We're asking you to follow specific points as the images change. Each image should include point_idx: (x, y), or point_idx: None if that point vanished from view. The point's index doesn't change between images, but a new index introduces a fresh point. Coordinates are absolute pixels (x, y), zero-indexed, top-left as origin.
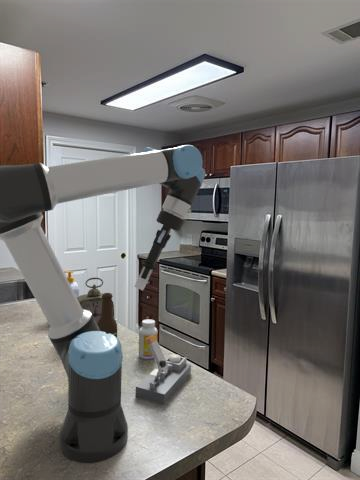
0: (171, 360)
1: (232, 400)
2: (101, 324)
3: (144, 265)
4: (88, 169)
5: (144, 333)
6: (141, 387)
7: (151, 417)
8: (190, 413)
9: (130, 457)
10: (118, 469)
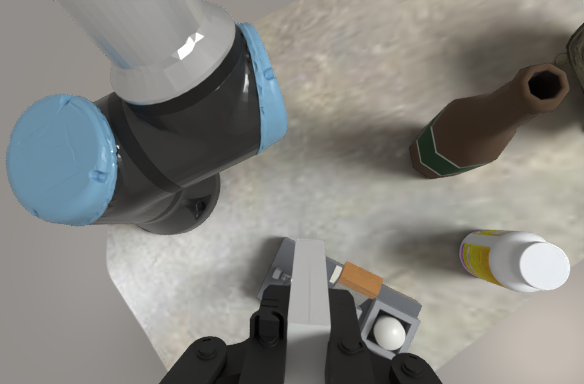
0: (377, 322)
1: None
2: (452, 113)
3: (253, 332)
4: None
5: (493, 250)
6: (281, 250)
7: (224, 269)
8: (235, 340)
9: (136, 242)
10: (116, 228)
